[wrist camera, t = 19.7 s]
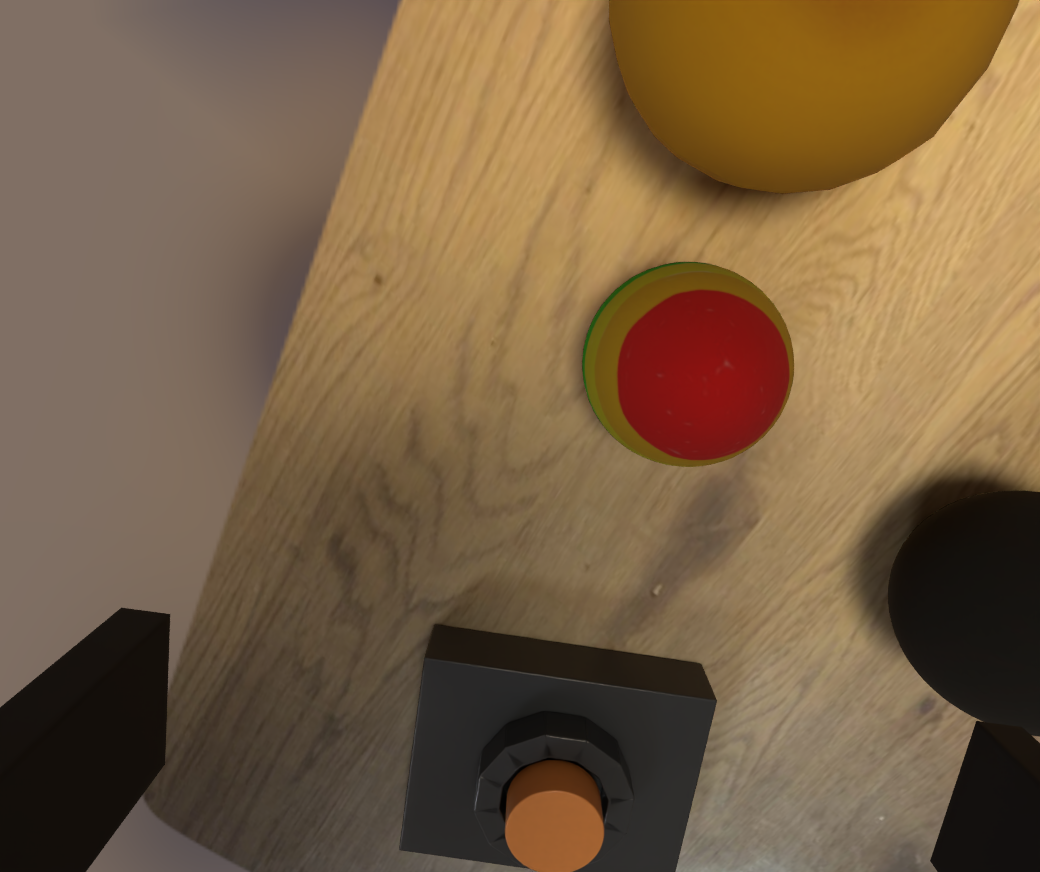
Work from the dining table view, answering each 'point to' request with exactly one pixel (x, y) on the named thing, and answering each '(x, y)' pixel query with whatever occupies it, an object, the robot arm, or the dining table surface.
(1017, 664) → the decorative ball
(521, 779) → the orange button
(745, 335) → the decorative egg
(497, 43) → the dining table surface
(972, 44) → the apple
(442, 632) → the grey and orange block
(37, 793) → the robot arm
